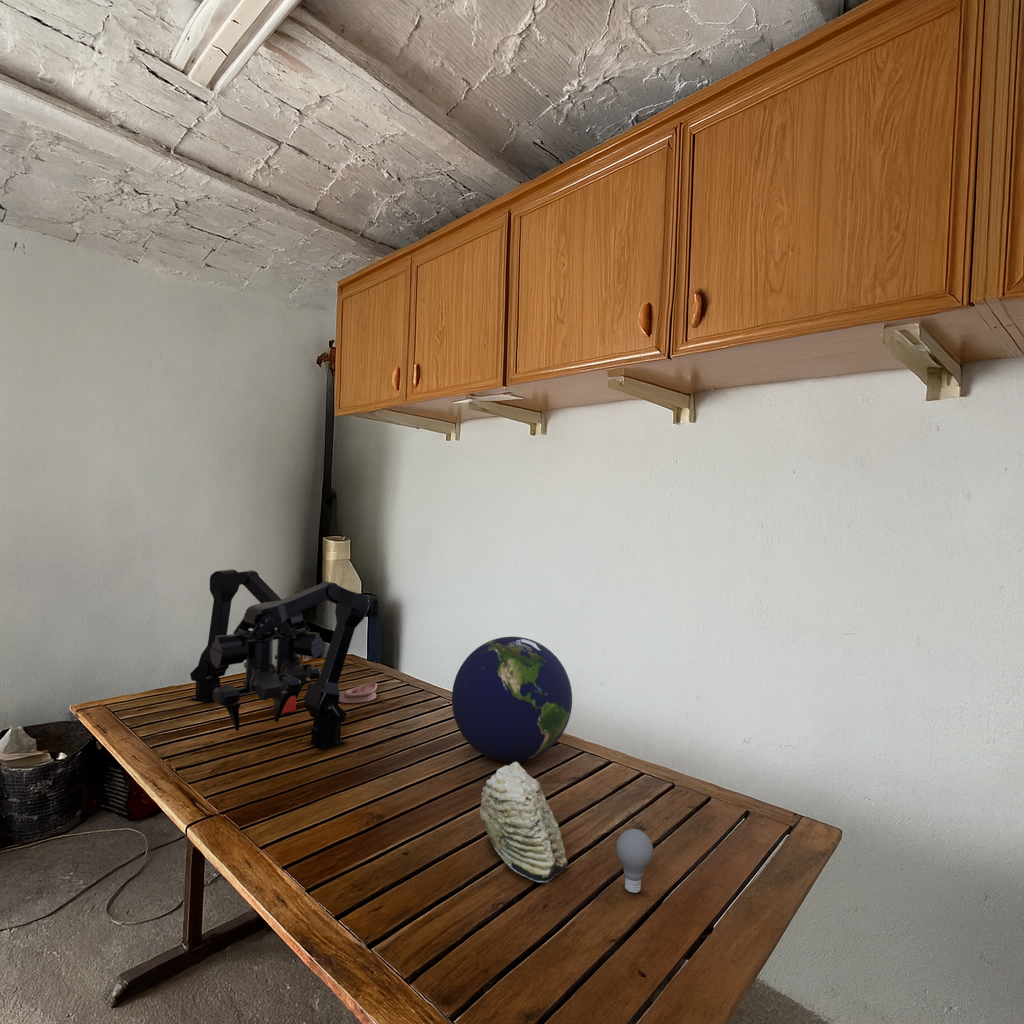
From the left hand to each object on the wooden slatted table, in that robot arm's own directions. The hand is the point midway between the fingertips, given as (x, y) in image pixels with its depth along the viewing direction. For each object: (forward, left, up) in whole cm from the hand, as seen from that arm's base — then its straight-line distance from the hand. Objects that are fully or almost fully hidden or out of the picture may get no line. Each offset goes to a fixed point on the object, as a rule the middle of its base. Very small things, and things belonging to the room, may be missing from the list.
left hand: (285, 706), depth 184 cm
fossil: (+86, -44, -2) cm, 97 cm away
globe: (+70, -4, -2) cm, 70 cm away
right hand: (+17, -32, +7) cm, 37 cm away
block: (0, 0, -1) cm, 1 cm away
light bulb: (+107, -47, -2) cm, 116 cm away
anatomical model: (+11, +19, -2) cm, 22 cm away
